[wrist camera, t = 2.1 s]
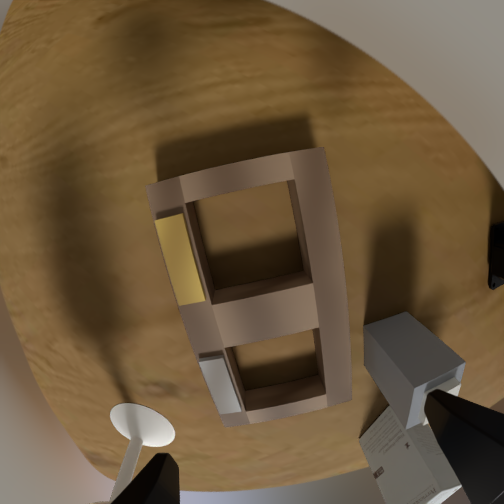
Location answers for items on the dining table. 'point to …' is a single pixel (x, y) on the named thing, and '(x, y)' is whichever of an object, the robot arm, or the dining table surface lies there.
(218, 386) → the brown wooden flat frame
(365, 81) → the dining table surface
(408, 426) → the plug
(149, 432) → the champagne flute
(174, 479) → the robot arm
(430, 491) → the skincare box
